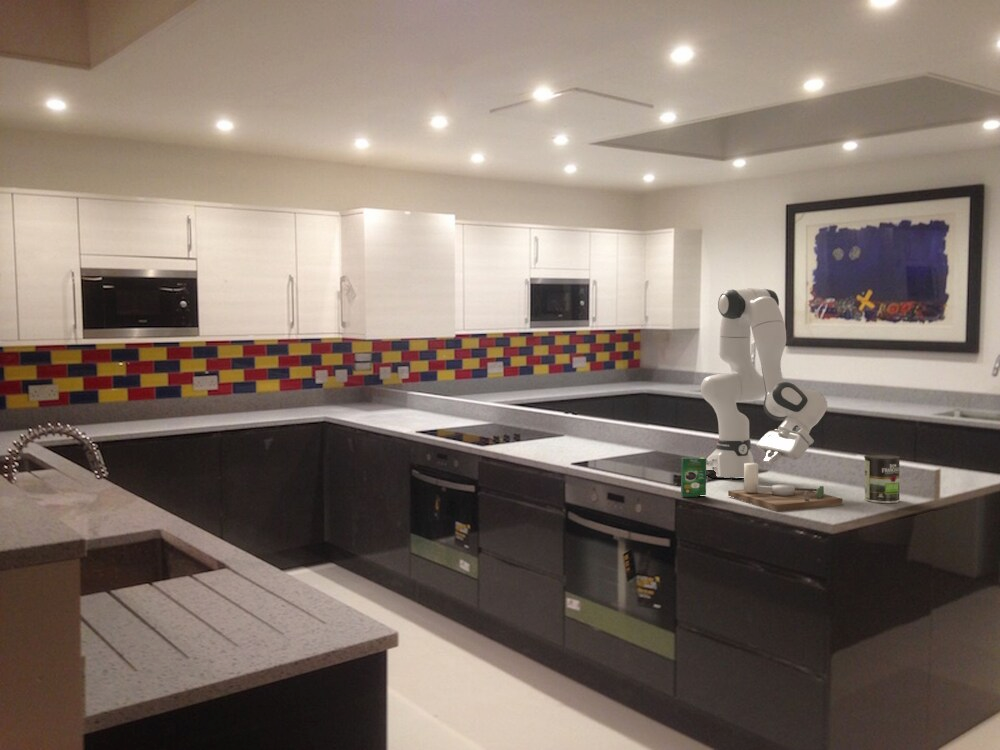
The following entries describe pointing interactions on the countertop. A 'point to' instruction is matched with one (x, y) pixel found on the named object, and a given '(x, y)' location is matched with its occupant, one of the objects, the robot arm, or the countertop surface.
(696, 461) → the coffee box
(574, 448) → the countertop surface
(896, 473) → the coffee can
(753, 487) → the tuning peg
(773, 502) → the board
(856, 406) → the countertop surface
